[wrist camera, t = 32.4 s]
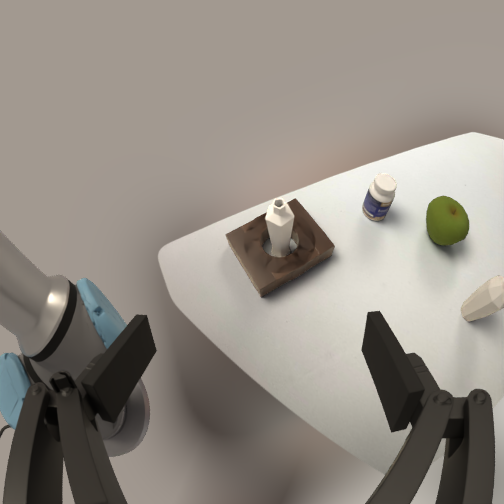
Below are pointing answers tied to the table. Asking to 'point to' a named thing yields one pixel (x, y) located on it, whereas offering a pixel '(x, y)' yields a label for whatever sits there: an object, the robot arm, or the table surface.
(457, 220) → the apple
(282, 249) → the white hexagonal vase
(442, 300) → the table surface
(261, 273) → the hole plate
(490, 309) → the faceted bottle
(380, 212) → the pill bottle
